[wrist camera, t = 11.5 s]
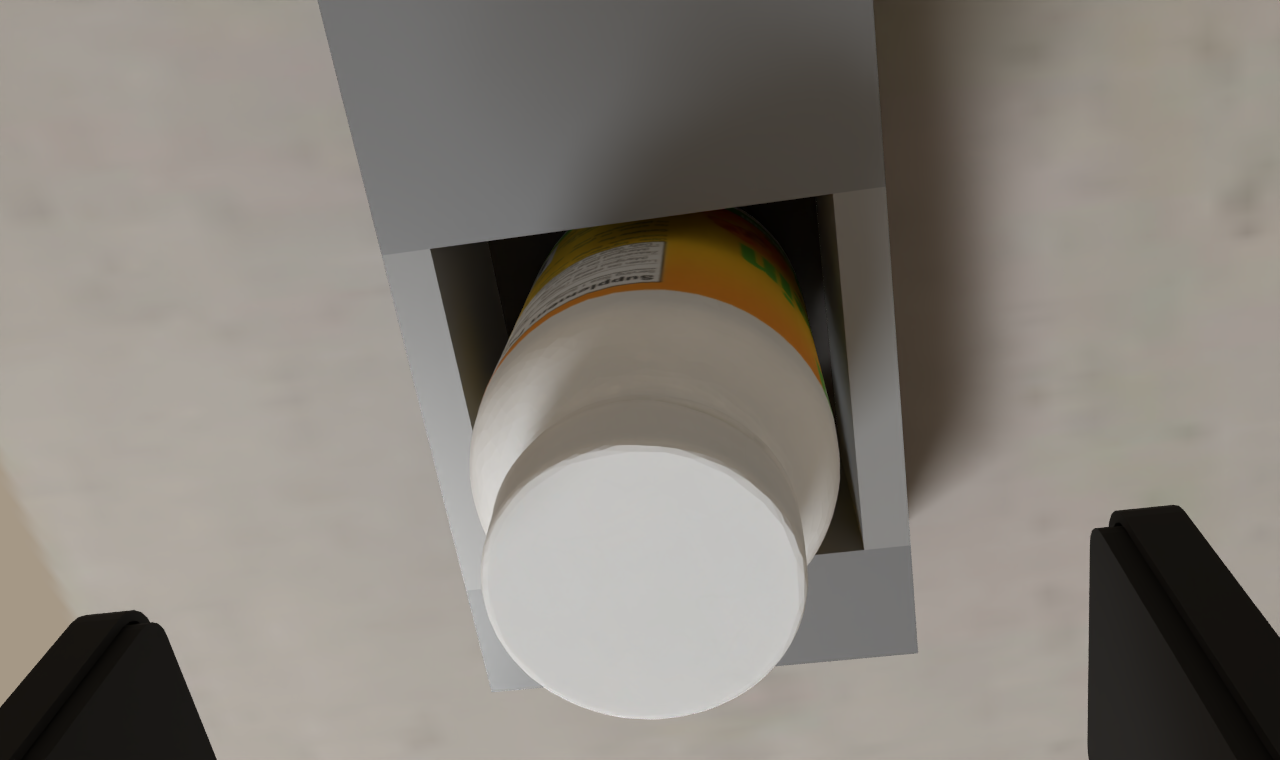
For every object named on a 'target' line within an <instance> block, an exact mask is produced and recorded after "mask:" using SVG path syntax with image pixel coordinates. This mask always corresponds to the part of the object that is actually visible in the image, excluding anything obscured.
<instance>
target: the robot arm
mask: <svg viewBox="0 0 1280 760" xmlns="http://www.w3.org/2000/svg"><path fill="white" fill-rule="evenodd" d="M1088 756H1089V760H1280V637H1279V636H1278V635H1277V633H1276V632H1275V631H1274V629H1273V628H1272V627H1271V625H1270V624H1269V623H1268V621H1267V620H1266V619H1265V617H1264V616H1263V615H1262V613H1261V612H1260V611H1259V609H1258V608H1257V607H1256V606H1255V604H1254V603H1253V602H1252V600H1251V599H1250V598H1249V596H1248V595H1247V594H1246V592H1245V591H1244V590H1243V588H1242V587H1241V586H1240V584H1239V583H1238V582H1237V580H1236V579H1235V578H1234V576H1233V575H1232V574H1231V572H1230V571H1229V570H1228V568H1227V567H1226V566H1225V564H1224V563H1223V562H1222V560H1221V559H1220V558H1219V556H1218V555H1217V554H1216V552H1215V551H1214V550H1213V548H1212V547H1211V546H1210V544H1209V543H1208V542H1207V540H1206V539H1205V538H1204V536H1203V535H1202V534H1201V532H1200V531H1199V530H1198V528H1197V527H1196V526H1195V524H1194V523H1193V522H1192V520H1191V519H1190V518H1189V516H1188V515H1187V514H1186V512H1185V511H1184V510H1183V509H1182V508H1181V507H1180V506H1177V505H1168V506H1158V507H1148V508H1139V509H1129V510H1119V511H1114V512H1113V513H1112V515H1111V518H1110V521H1109V527H1104V528H1095V529H1094V530H1093V531H1092V533H1091V538H1090V588H1089V669H1088ZM0 760H217V759H216V757H215V754H214V752H213V749H212V747H211V744H210V742H209V739H208V737H207V734H206V732H205V729H204V727H203V724H202V722H201V719H200V717H199V714H198V712H197V709H196V707H195V704H194V702H193V699H192V697H191V694H190V692H189V689H188V687H187V684H186V682H185V679H184V677H183V675H182V672H181V670H180V667H179V665H178V662H177V660H176V657H175V655H174V652H173V650H172V647H171V645H170V642H169V640H168V637H167V635H166V633H165V631H164V629H163V628H162V627H161V626H160V625H159V624H157V623H153V622H152V623H150V621H149V620H148V618H147V617H146V616H145V615H144V614H143V613H141V612H139V611H135V610H131V611H122V612H112V613H102V614H92V615H85V616H81V617H78V618H77V619H76V620H75V621H73V622H72V623H71V624H70V625H69V627H68V628H67V629H66V630H65V631H64V633H63V634H62V635H61V636H60V637H59V638H58V640H57V641H56V642H55V643H54V645H53V646H52V647H51V648H50V649H49V650H48V652H47V653H46V654H45V655H44V656H43V658H42V659H41V660H40V661H39V662H38V663H37V665H36V666H35V667H34V668H33V669H32V670H31V672H30V673H29V674H28V675H27V676H26V678H25V679H24V680H23V681H22V682H21V683H20V685H19V686H18V687H17V688H16V689H15V691H14V692H13V693H12V694H11V695H10V697H9V698H8V699H7V700H6V702H4V704H3V705H2V706H1V707H0Z"/></svg>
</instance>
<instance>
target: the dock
mask: <svg viewBox="0 0 1280 760" xmlns="http://www.w3.org/2000/svg"><path fill="white" fill-rule="evenodd" d="M318 4H319V8H320V12H321V16H322V20H323V24H324V28H325V32H326V36H327V40H328V44H329V48H330V52H331V56H332V60H333V64H334V68H335V72H336V76H337V80H338V84H339V88H340V92H341V96H342V99H343V103H344V107H345V111H346V115H347V119H348V123H349V127H350V131H351V135H352V139H353V143H354V147H355V151H356V155H357V159H358V163H359V167H360V171H361V175H362V179H363V183H364V187H365V191H366V195H367V199H368V203H369V207H370V211H371V215H372V219H373V223H374V227H375V231H376V235H377V239H378V243H379V246H380V250H381V254H382V258H383V262H384V266H385V270H386V274H387V278H388V282H389V286H390V290H391V294H392V298H393V302H394V306H395V310H396V314H397V318H398V322H399V326H400V330H401V334H402V338H403V342H404V346H405V350H406V354H407V358H408V362H409V366H410V370H411V374H412V378H413V382H414V386H415V390H416V393H417V397H418V401H419V405H420V409H421V413H422V417H423V421H424V425H425V429H426V433H427V437H428V441H429V445H430V449H431V453H432V457H433V461H434V465H435V469H436V473H437V477H438V481H439V485H440V489H441V493H442V497H443V501H444V505H445V509H446V513H447V517H448V521H449V525H450V529H451V533H452V537H453V541H454V544H455V548H456V552H457V556H458V560H459V564H460V568H461V572H462V576H463V580H464V584H465V588H466V592H467V596H468V600H469V604H470V608H471V612H472V616H473V620H474V624H475V628H476V632H477V636H478V640H479V644H480V648H481V652H482V656H483V660H484V664H485V668H486V672H487V676H488V680H489V684H490V688H491V691H492V692H499V691H510V690H521V689H532V688H543V686H542V685H540V684H539V683H537V682H536V681H535V680H534V679H532V678H531V677H530V676H529V675H527V674H526V673H525V672H524V671H523V670H522V669H521V668H520V667H519V666H518V664H517V663H516V662H515V661H514V660H513V659H512V657H511V656H510V655H509V654H508V652H507V651H506V650H505V648H504V647H503V645H502V643H501V642H500V640H499V639H498V637H497V635H496V633H495V631H494V629H493V626H492V624H491V622H490V620H489V617H488V613H487V610H486V607H485V603H484V599H483V594H482V586H481V561H482V553H483V547H484V543H485V539H486V534H485V532H484V530H483V527H482V525H481V522H480V519H479V516H478V513H477V510H476V507H475V503H474V499H473V495H472V489H471V482H470V446H471V438H472V433H473V428H474V424H475V421H476V418H477V414H478V410H479V407H480V404H481V401H482V398H483V395H484V393H485V390H486V387H487V385H488V383H489V381H490V379H491V377H492V375H493V372H494V370H495V368H496V366H497V364H498V362H499V360H500V358H501V355H502V353H503V351H504V349H505V347H506V344H507V342H508V340H509V338H508V334H507V329H506V324H505V319H504V315H503V310H502V305H501V301H500V296H499V291H498V287H497V282H496V277H495V272H494V268H493V263H492V258H491V254H490V249H489V244H488V241H491V240H499V239H506V238H513V237H520V236H528V235H535V234H542V233H550V232H557V231H564V230H572V229H579V228H586V227H594V226H601V225H608V224H616V223H623V222H630V221H638V220H645V219H652V218H659V217H667V216H674V215H681V214H689V213H696V212H703V211H711V210H718V209H725V208H733V207H740V206H747V205H755V204H762V203H769V202H776V201H784V200H791V199H798V198H806V197H813V196H815V200H816V211H817V221H818V232H819V243H820V253H821V264H822V274H823V285H824V296H825V306H826V317H827V328H828V338H829V349H830V359H831V370H832V381H833V391H834V402H835V412H836V423H837V434H838V444H839V457H840V483H839V491H838V496H837V501H836V505H835V509H834V513H833V517H832V519H831V522H830V525H829V528H828V530H827V533H826V535H825V537H824V540H823V541H822V543H821V545H820V547H819V549H818V551H817V552H816V554H815V555H814V557H813V559H812V560H811V562H810V563H809V564H808V566H807V573H808V590H807V598H806V604H805V610H804V613H803V616H802V620H801V623H800V626H799V628H798V631H797V633H796V635H795V637H794V639H793V641H792V643H791V644H790V646H789V648H788V649H787V651H786V652H785V654H784V655H783V657H782V658H781V659H780V661H779V662H778V663H777V664H776V665H775V666H783V665H794V664H805V663H816V662H826V661H837V660H848V659H859V658H870V657H881V656H892V655H903V654H914V653H918V646H917V631H916V617H915V603H914V588H913V574H912V559H911V545H910V530H909V516H908V501H907V487H906V472H905V458H904V443H903V429H902V415H901V400H900V386H899V371H898V357H897V342H896V328H895V313H894V299H893V284H892V270H891V255H890V241H889V227H888V212H887V198H886V183H885V169H884V154H883V140H882V125H881V111H880V96H879V82H878V67H877V53H876V38H875V24H874V10H873V0H318Z"/></svg>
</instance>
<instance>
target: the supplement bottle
mask: <svg viewBox="0 0 1280 760" xmlns="http://www.w3.org/2000/svg"><path fill="white" fill-rule="evenodd" d="M470 482H471V489H472V495H473V499H474V503H475V507H476V510H477V513H478V516H479V519H480V522H481V525H482V527H483V530H484V532H485V534H486V539H485V543H484V547H483V553H482V561H481V586H482V594H483V599H484V603H485V607H486V610H487V613H488V617H489V620H490V622H491V624H492V626H493V629H494V631H495V633H496V635H497V637H498V639H499V640H500V642H501V643H502V645H503V647H504V648H505V650H506V651H507V652H508V654H509V655H510V656H511V657H512V659H513V660H514V661H515V662H516V663H517V664H518V666H519V667H520V668H521V669H522V670H523V671H524V672H525V673H526V674H527V675H529V676H530V677H531V678H532V679H534V680H535V681H536V682H537V683H539V684H540V685H542V686H543V687H544V688H546V689H547V690H549V691H550V692H552V693H553V694H555V695H557V696H559V697H561V698H563V699H565V700H567V701H569V702H571V703H573V704H576V705H578V706H580V707H583V708H586V709H589V710H592V711H596V712H599V713H603V714H606V715H611V716H617V717H622V718H636V719H665V718H673V717H681V716H686V715H690V714H694V713H699V712H703V711H706V710H709V709H712V708H714V707H717V706H719V705H721V704H723V703H725V702H728V701H730V700H732V699H734V698H736V697H738V696H739V695H741V694H743V693H745V692H746V691H748V690H749V689H750V688H752V687H753V686H754V685H755V684H757V683H758V682H759V681H760V680H762V679H763V678H764V677H765V676H766V675H767V674H768V673H769V672H770V671H771V670H772V669H773V668H774V667H775V665H776V664H777V663H778V662H779V661H780V659H781V658H782V657H783V655H784V654H785V652H786V651H787V649H788V648H789V646H790V644H791V643H792V641H793V639H794V637H795V635H796V633H797V631H798V628H799V626H800V623H801V620H802V616H803V613H804V610H805V604H806V598H807V590H808V573H807V566H808V564H809V563H810V562H811V560H812V559H813V557H814V555H815V554H816V552H817V551H818V549H819V547H820V545H821V543H822V541H823V540H824V537H825V535H826V533H827V530H828V528H829V525H830V522H831V519H832V517H833V513H834V509H835V505H836V501H837V496H838V491H839V483H840V457H839V448H838V441H837V434H836V428H835V423H834V417H833V413H832V410H831V406H830V402H829V399H828V395H827V391H826V387H825V383H824V379H823V375H822V371H821V367H820V363H819V360H818V356H817V352H816V348H815V344H814V340H813V336H812V332H811V328H810V323H809V319H808V315H807V311H806V306H805V302H804V298H803V294H802V291H801V288H800V284H799V281H798V279H797V276H796V273H795V271H794V269H793V266H792V264H791V262H790V260H789V258H788V256H787V255H786V253H785V252H784V250H783V248H782V247H781V245H780V244H779V243H778V241H777V240H776V239H775V238H774V236H773V235H772V234H771V233H770V232H769V231H768V230H767V229H766V228H765V227H764V226H763V225H762V224H761V223H760V222H758V221H757V220H756V219H755V218H754V217H752V216H751V215H750V214H748V213H747V212H745V211H744V210H742V209H740V208H739V207H733V208H725V209H718V210H711V211H703V212H696V213H689V214H681V215H674V216H667V217H659V218H652V219H645V220H638V221H630V222H623V223H616V224H608V225H601V226H594V227H586V228H579V229H572V230H567V231H566V232H565V234H564V235H563V236H562V237H561V238H560V239H559V241H558V242H557V243H556V244H555V246H554V247H553V249H552V250H551V252H550V253H549V255H548V257H547V258H546V260H545V261H544V263H543V265H542V267H541V269H540V271H539V273H538V275H537V277H536V279H535V281H534V283H533V286H532V288H531V290H530V293H529V295H528V297H527V299H526V302H525V304H524V306H523V309H522V311H521V313H520V315H519V318H518V320H517V322H516V324H515V327H514V329H513V331H512V333H511V335H510V337H509V340H508V342H507V344H506V347H505V349H504V351H503V353H502V355H501V358H500V360H499V362H498V364H497V366H496V368H495V370H494V372H493V375H492V377H491V379H490V381H489V383H488V385H487V387H486V390H485V393H484V395H483V398H482V401H481V404H480V407H479V410H478V414H477V418H476V421H475V424H474V428H473V433H472V438H471V446H470Z"/></svg>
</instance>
